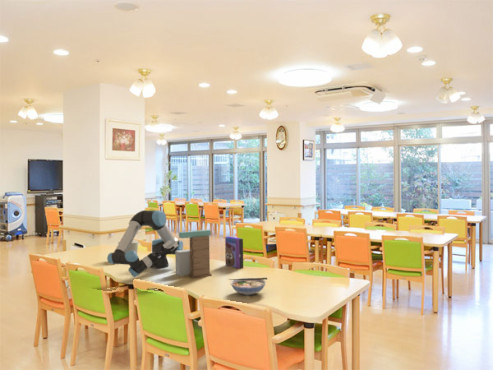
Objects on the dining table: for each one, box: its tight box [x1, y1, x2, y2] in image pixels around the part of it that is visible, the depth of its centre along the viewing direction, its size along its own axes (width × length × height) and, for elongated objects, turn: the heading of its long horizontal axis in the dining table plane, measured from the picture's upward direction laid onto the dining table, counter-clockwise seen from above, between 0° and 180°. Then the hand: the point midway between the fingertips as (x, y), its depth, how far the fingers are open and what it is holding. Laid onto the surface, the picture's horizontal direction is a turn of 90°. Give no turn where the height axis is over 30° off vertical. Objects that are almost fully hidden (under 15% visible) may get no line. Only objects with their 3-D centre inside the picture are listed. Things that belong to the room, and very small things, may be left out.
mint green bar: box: [178, 229, 212, 239], centre depth 304 cm, size 4×24×4 cm, turn 121°
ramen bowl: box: [228, 277, 268, 296], centre depth 257 cm, size 25×23×8 cm
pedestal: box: [187, 236, 212, 279], centre depth 306 cm, size 9×15×30 cm, turn 121°
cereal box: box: [224, 236, 244, 270], centre depth 335 cm, size 17×5×24 cm, turn 41°
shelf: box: [174, 248, 190, 277], centre depth 314 cm, size 8×20×18 cm, turn 121°
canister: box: [117, 239, 140, 255], centre depth 368 cm, size 18×18×21 cm
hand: (174, 242), depth 295 cm, fingers open, 13 cm apart
